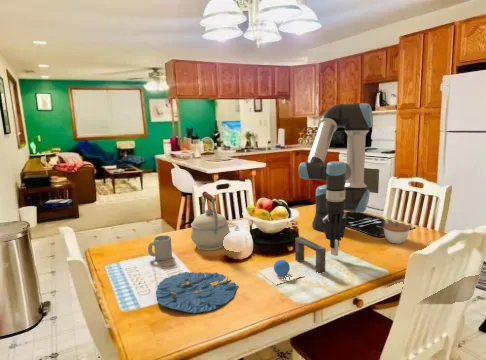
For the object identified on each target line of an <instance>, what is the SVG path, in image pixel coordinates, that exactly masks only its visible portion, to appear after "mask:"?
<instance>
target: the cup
mask: <svg viewBox="0 0 486 360" xmlns="http://www.w3.org/2000/svg"><path fill="white" fill-rule="evenodd" d="M171 237H172V236H170V235H166V234H163V235H157V236H155V237H154V238H153V241H151V242H149V244H148V246H147V251H148V254H149V256H151V257H154V258H155V260H156V261H160V260H163V261H168V260H171V258H172V257H173V249H172V238H171ZM153 246H154V252H153V249H152V248H153ZM167 259H168V260H167Z"/></svg>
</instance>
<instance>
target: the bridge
mask: <svg viewBox="0 0 486 360" xmlns="http://www.w3.org/2000/svg"><path fill="white" fill-rule="evenodd" d="M294 239H295V241H294V242H295V243H294V244H295V251H294V252H295V253H294V255H295V261H296V262H302V260H303V261H305V247H307V248H309V249H311V250H313V251H315V273H317V272H318V273H321V274H324V273H326V251H327V249H326V247H324V246H322V245H320V244H318V243H315V242H313V241H311V240H309V239H307V238H305V237H303V236H298V237H295V238H294ZM323 272H324V273H323ZM318 273H317V274H318Z"/></svg>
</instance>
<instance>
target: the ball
mask: <svg viewBox="0 0 486 360" xmlns="http://www.w3.org/2000/svg"><path fill="white" fill-rule="evenodd" d="M289 266H290V264H289V262H288V261H287V260H285V259H278V260H277V261H275V262H274V264H273V267H274V271H275V273H276V274H277V275H279V276H284V275H286V274H287V273H288V272H289V269H290V267H291V266H290V267H289Z"/></svg>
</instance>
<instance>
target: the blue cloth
mask: <svg viewBox="0 0 486 360" xmlns="http://www.w3.org/2000/svg"><path fill="white" fill-rule="evenodd" d="M225 279H226V275H224V274H221V273H218V272H194V271H192V272H189V271H188V272H187V271H185V272H180V273H177V274H172V275H170V276H168V277H164V278H163V280H161V281H160V282H159V283H158V284H157V287H156V288H157V289H156V290H155V297H156V299H157V301H158V303H159V305H160V306H161V307H166V308H169V309H173V310H177V311H182V312H186V313H192V314H196V313H197V314H199V313H201V312H203V313H205V312H210V311H212V310H213V311H214V310H216V309H218V308H220V307H222V306H224V305H226V303H228V302H230V300H232V299H233V298H234V297H235V293H236V291H237V290H238V289H239V288H240V286H239V285H237V283H236V282H235V281H232V279H229V277H227V279H226V280H225ZM224 280H225V281H224Z"/></svg>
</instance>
